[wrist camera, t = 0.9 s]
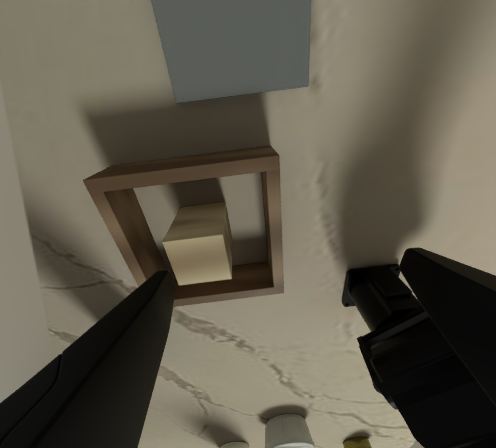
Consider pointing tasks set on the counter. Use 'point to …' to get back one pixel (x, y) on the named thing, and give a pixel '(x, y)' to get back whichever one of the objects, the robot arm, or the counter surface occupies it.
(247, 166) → the box
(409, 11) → the counter surface
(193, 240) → the maple block
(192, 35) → the pad
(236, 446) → the bottle
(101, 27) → the counter surface
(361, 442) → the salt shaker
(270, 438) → the ramekin
